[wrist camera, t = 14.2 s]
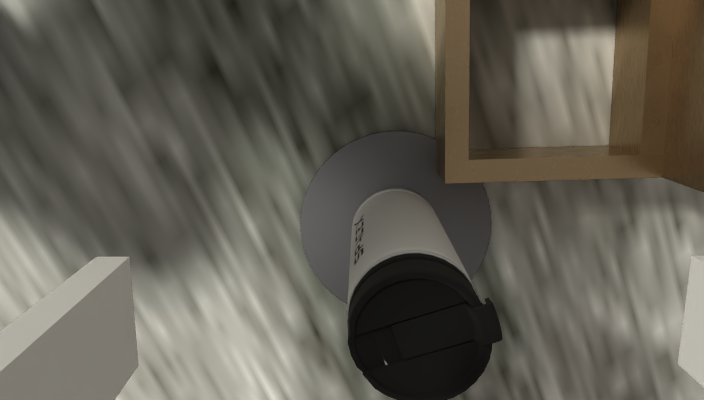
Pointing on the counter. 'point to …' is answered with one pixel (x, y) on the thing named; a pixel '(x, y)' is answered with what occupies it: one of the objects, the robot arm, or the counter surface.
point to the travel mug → (413, 302)
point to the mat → (376, 173)
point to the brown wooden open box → (626, 110)
